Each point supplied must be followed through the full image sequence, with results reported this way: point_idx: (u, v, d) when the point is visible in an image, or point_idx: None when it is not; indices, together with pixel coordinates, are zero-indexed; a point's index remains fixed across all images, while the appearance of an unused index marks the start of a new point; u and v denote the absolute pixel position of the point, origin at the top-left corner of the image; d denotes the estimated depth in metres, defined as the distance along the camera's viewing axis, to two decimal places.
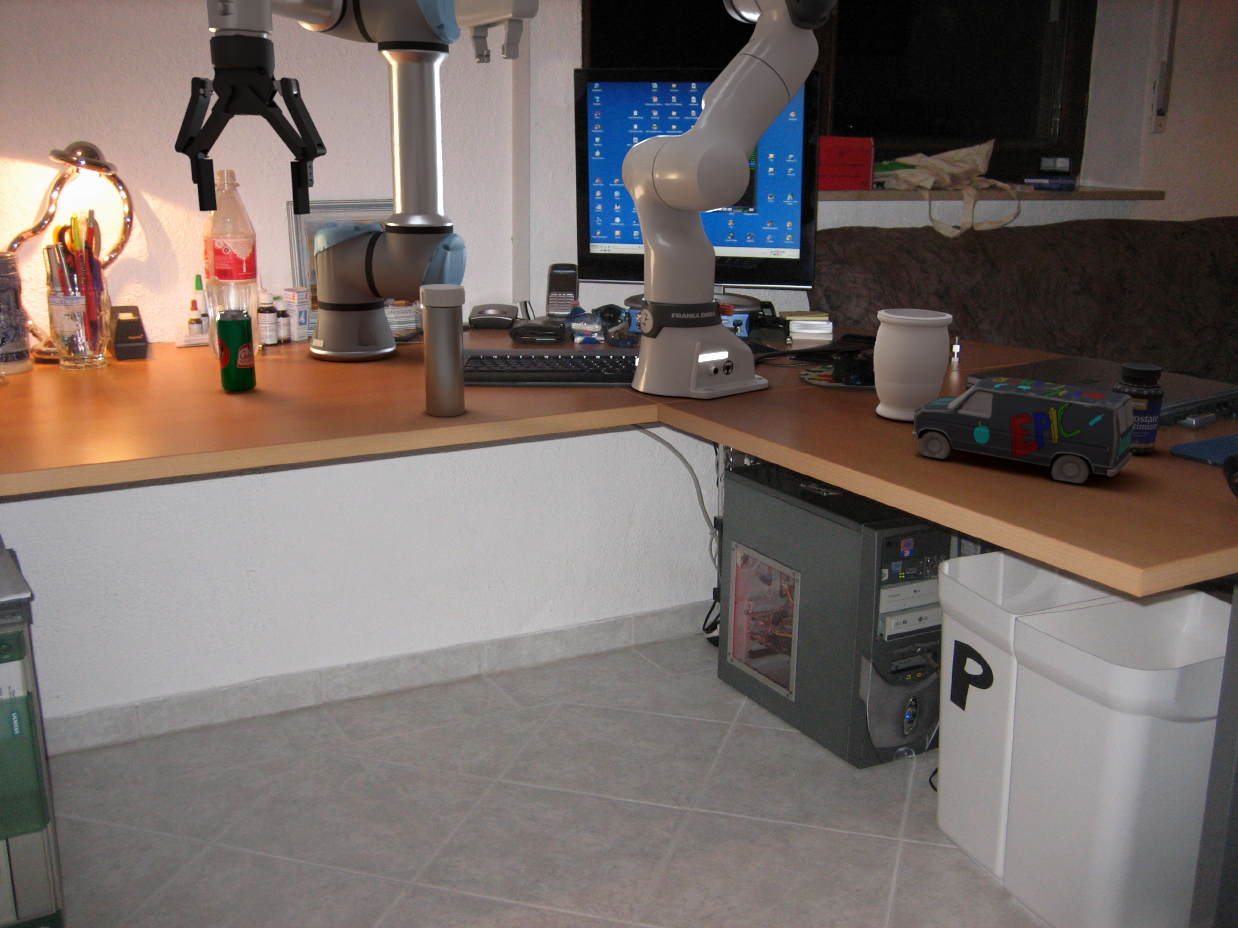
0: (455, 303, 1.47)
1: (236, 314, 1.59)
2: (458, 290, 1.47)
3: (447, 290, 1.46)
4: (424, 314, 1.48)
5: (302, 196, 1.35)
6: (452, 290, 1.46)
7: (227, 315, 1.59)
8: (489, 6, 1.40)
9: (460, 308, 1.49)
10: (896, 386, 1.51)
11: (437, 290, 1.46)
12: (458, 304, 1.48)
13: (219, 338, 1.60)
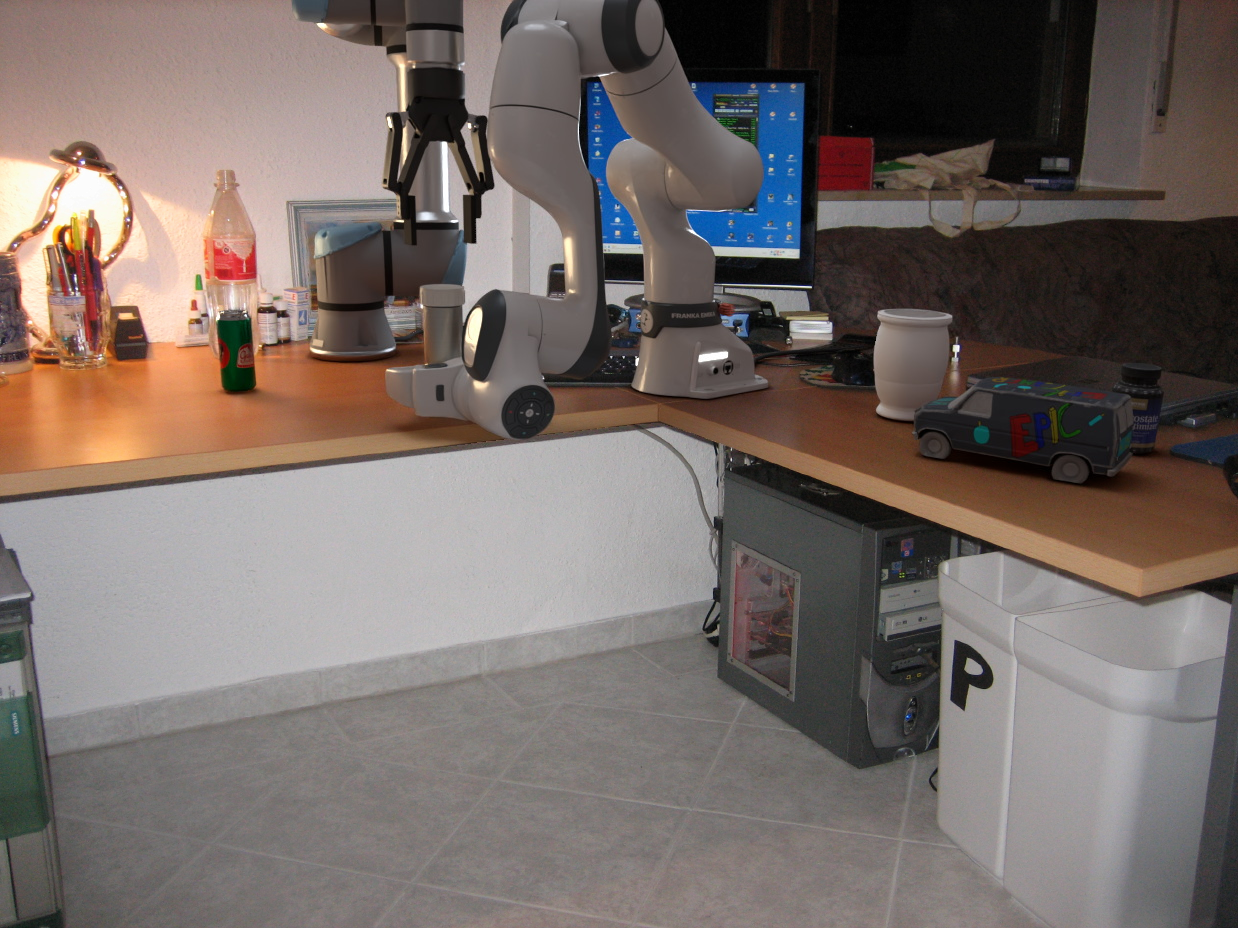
0: (455, 303, 1.47)
1: (236, 314, 1.59)
2: (458, 290, 1.47)
3: (447, 290, 1.46)
4: (424, 314, 1.48)
5: (406, 228, 1.44)
6: (452, 290, 1.46)
7: (227, 315, 1.59)
8: None
9: (460, 308, 1.49)
10: (896, 386, 1.51)
11: (437, 290, 1.46)
12: (458, 304, 1.48)
13: (219, 338, 1.60)
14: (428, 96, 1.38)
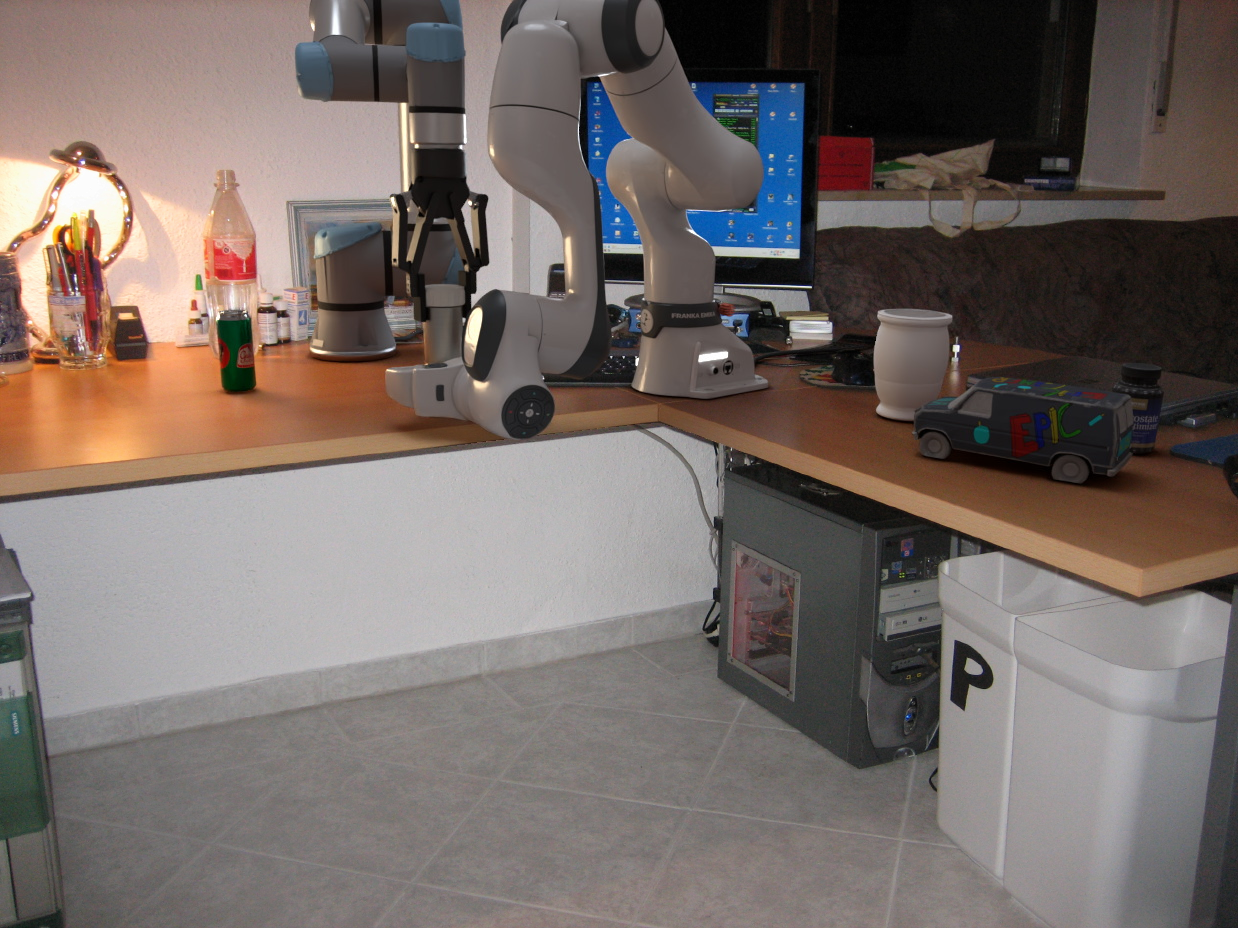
0: (455, 303, 1.47)
1: (236, 314, 1.59)
2: (458, 290, 1.47)
3: (447, 290, 1.46)
4: None
5: (415, 304, 1.48)
6: (452, 290, 1.46)
7: (227, 315, 1.59)
8: None
9: (460, 308, 1.49)
10: (896, 386, 1.51)
11: (437, 290, 1.46)
12: (458, 304, 1.48)
13: (219, 338, 1.60)
14: (430, 176, 1.41)
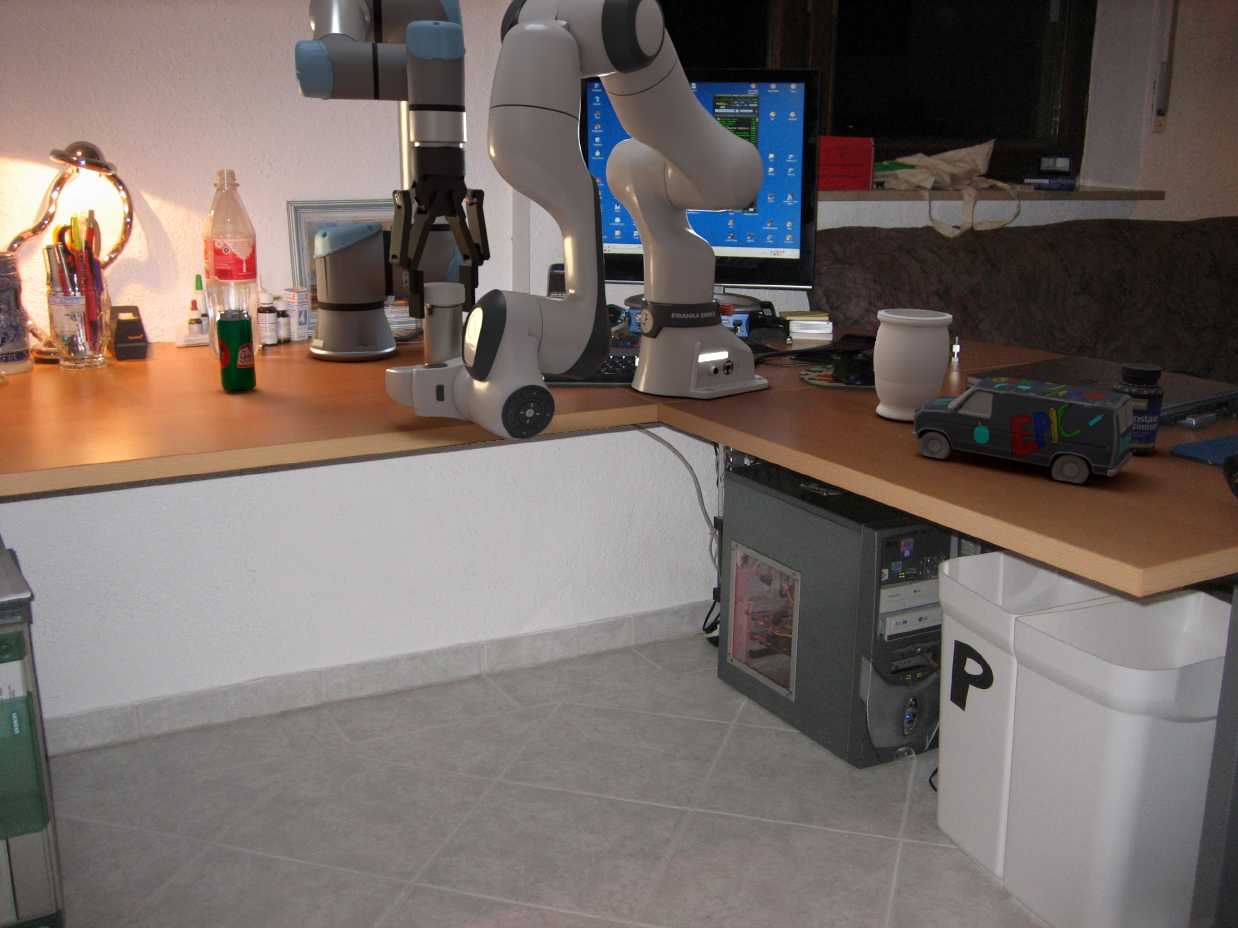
0: None
1: (236, 314, 1.59)
2: None
3: None
4: None
5: (412, 301, 1.46)
6: (463, 285, 1.50)
7: (227, 315, 1.59)
8: None
9: (460, 308, 1.49)
10: (896, 386, 1.51)
11: (462, 286, 1.48)
12: None
13: (219, 338, 1.60)
14: (437, 174, 1.41)
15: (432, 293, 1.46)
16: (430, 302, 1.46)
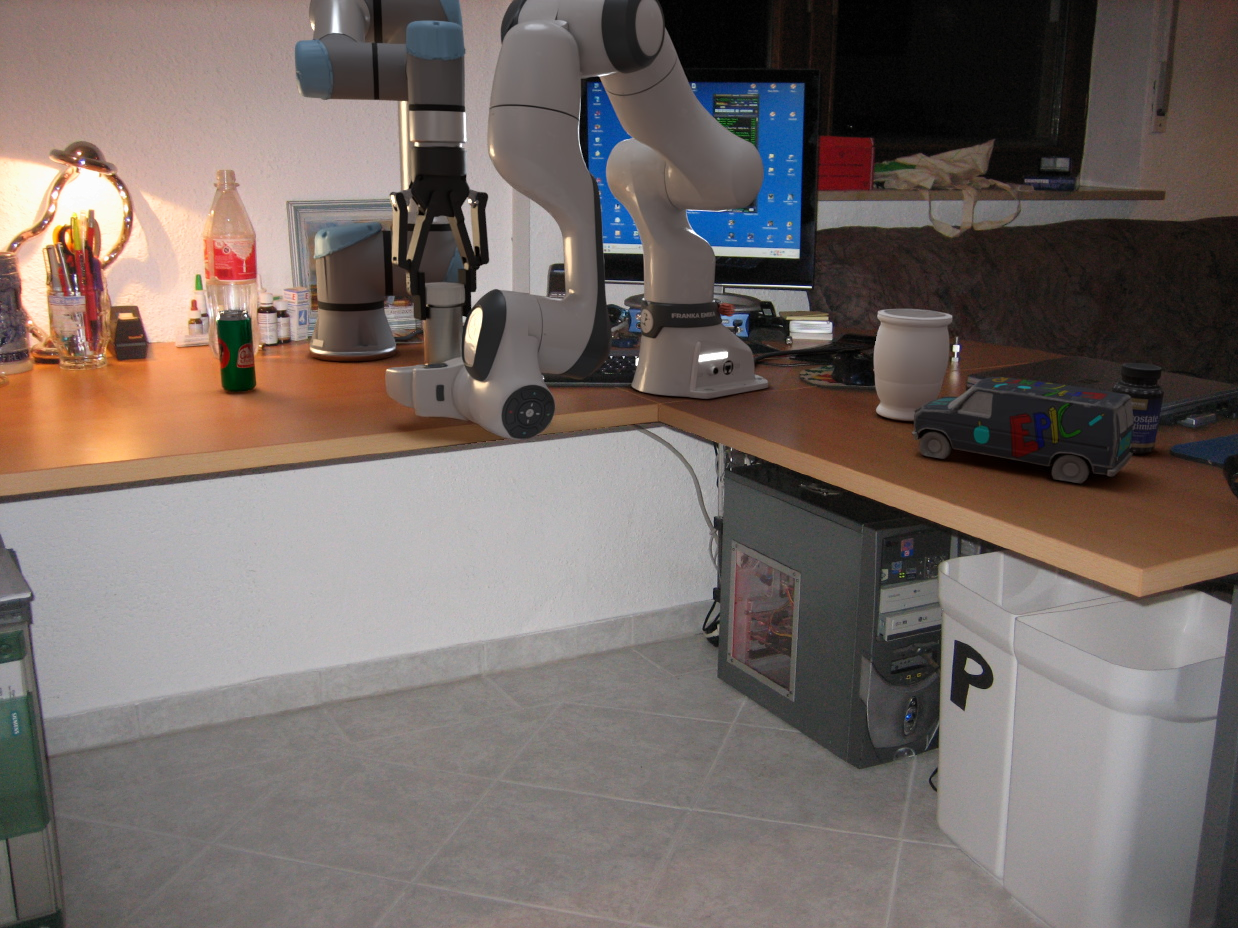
0: None
1: (236, 314, 1.59)
2: None
3: None
4: None
5: (415, 303, 1.48)
6: (463, 285, 1.50)
7: (227, 315, 1.59)
8: None
9: (460, 308, 1.49)
10: (896, 386, 1.51)
11: (462, 286, 1.48)
12: None
13: (219, 338, 1.60)
14: (430, 174, 1.41)
15: (432, 293, 1.46)
16: (430, 302, 1.46)
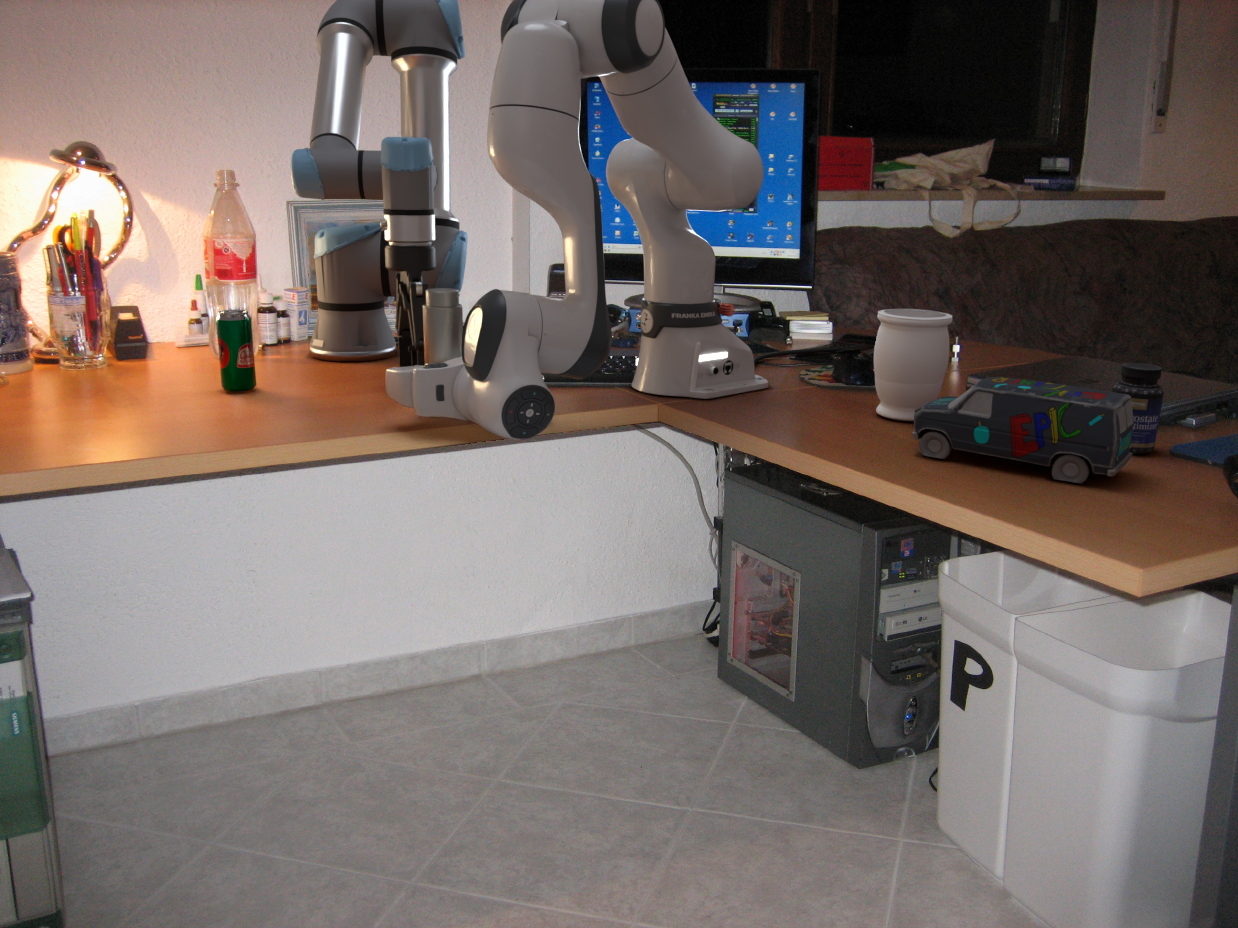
0: None
1: (236, 314, 1.59)
2: None
3: None
4: (424, 314, 1.48)
5: None
6: None
7: (227, 315, 1.59)
8: None
9: (460, 308, 1.49)
10: (896, 386, 1.51)
11: None
12: None
13: (219, 338, 1.60)
14: (431, 269, 1.61)
15: None
16: None
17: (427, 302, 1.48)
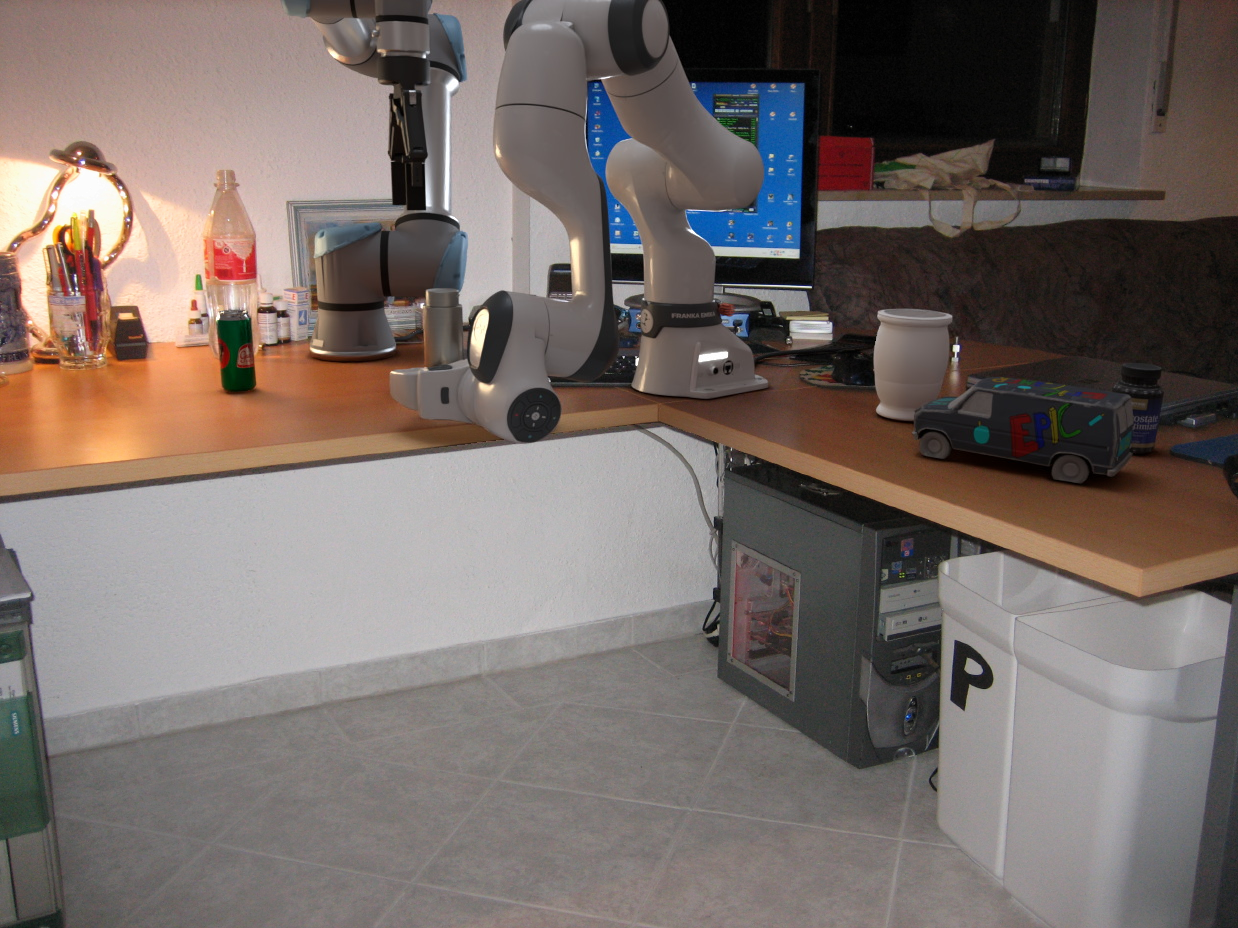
0: None
1: (236, 314, 1.59)
2: None
3: None
4: (424, 314, 1.48)
5: (413, 194, 1.53)
6: None
7: (227, 315, 1.59)
8: None
9: (460, 308, 1.49)
10: (896, 386, 1.51)
11: None
12: None
13: (219, 338, 1.60)
14: (425, 83, 1.54)
15: None
16: None
17: (427, 302, 1.48)
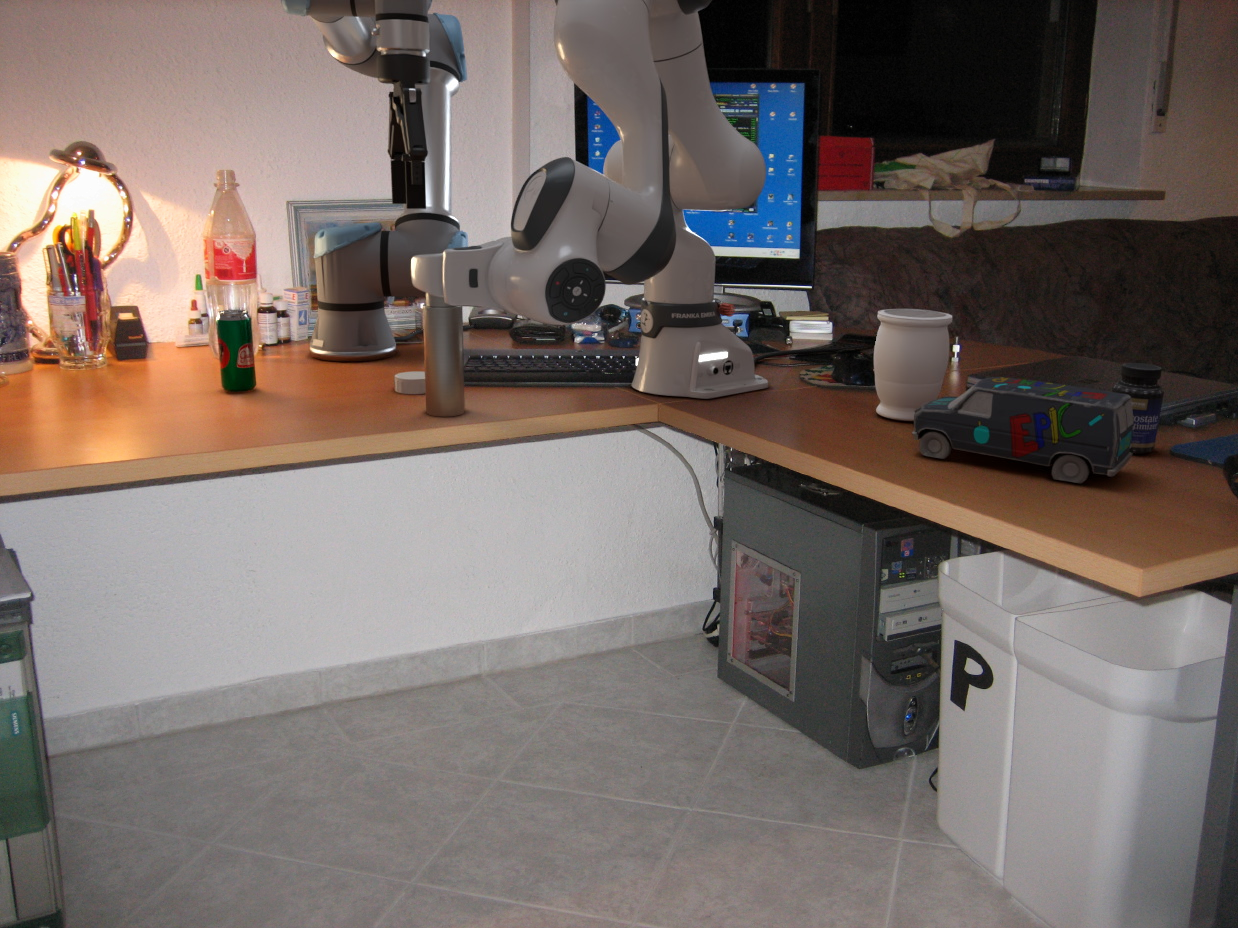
0: None
1: (236, 314, 1.59)
2: None
3: None
4: (424, 314, 1.48)
5: (413, 193, 1.53)
6: None
7: (227, 315, 1.59)
8: None
9: (460, 308, 1.49)
10: (896, 386, 1.51)
11: None
12: None
13: (219, 338, 1.60)
14: (425, 81, 1.54)
15: None
16: None
17: (427, 302, 1.48)
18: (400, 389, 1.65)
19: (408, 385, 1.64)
